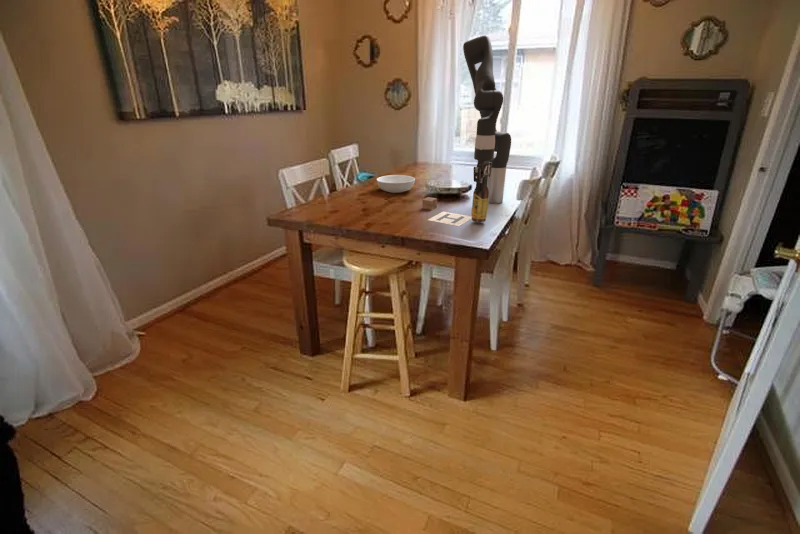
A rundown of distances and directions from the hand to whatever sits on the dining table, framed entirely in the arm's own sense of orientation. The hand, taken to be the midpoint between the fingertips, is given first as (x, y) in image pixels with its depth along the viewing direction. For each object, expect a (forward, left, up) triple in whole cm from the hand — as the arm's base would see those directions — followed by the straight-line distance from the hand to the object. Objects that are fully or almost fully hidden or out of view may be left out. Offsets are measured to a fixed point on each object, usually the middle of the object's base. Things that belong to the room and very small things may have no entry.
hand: (481, 190), depth 161 cm
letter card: (0, -13, -15) cm, 20 cm away
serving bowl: (-30, -61, -15) cm, 70 cm away
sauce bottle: (0, 0, -13) cm, 13 cm away
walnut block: (-9, -28, -15) cm, 33 cm away
